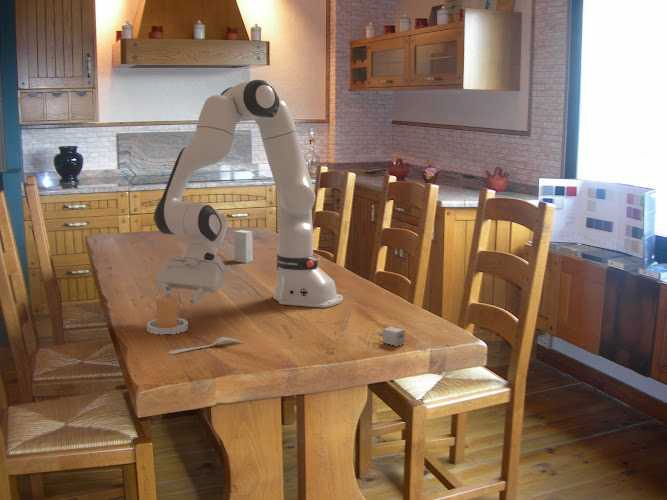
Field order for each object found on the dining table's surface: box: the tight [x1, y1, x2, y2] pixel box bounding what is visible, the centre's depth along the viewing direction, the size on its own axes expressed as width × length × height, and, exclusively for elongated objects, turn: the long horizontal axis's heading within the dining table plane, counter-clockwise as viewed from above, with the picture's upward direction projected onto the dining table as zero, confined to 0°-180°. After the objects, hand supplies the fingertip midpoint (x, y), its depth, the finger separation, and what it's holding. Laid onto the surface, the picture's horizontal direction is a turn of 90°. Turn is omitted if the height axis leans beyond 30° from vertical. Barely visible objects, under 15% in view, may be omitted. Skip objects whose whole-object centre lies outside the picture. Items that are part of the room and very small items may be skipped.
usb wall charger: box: [376, 326, 406, 347], centre depth 205 cm, size 4×7×4 cm, turn 48°
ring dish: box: [146, 317, 189, 336], centre depth 215 cm, size 11×11×2 cm
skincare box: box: [233, 229, 254, 264], centre depth 302 cm, size 6×4×12 cm
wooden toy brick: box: [155, 296, 179, 328], centre depth 214 cm, size 4×4×8 cm
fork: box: [167, 336, 243, 355], centre depth 200 cm, size 3×21×3 cm, turn 120°
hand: (179, 301), depth 217 cm, fingers open, 8 cm apart
